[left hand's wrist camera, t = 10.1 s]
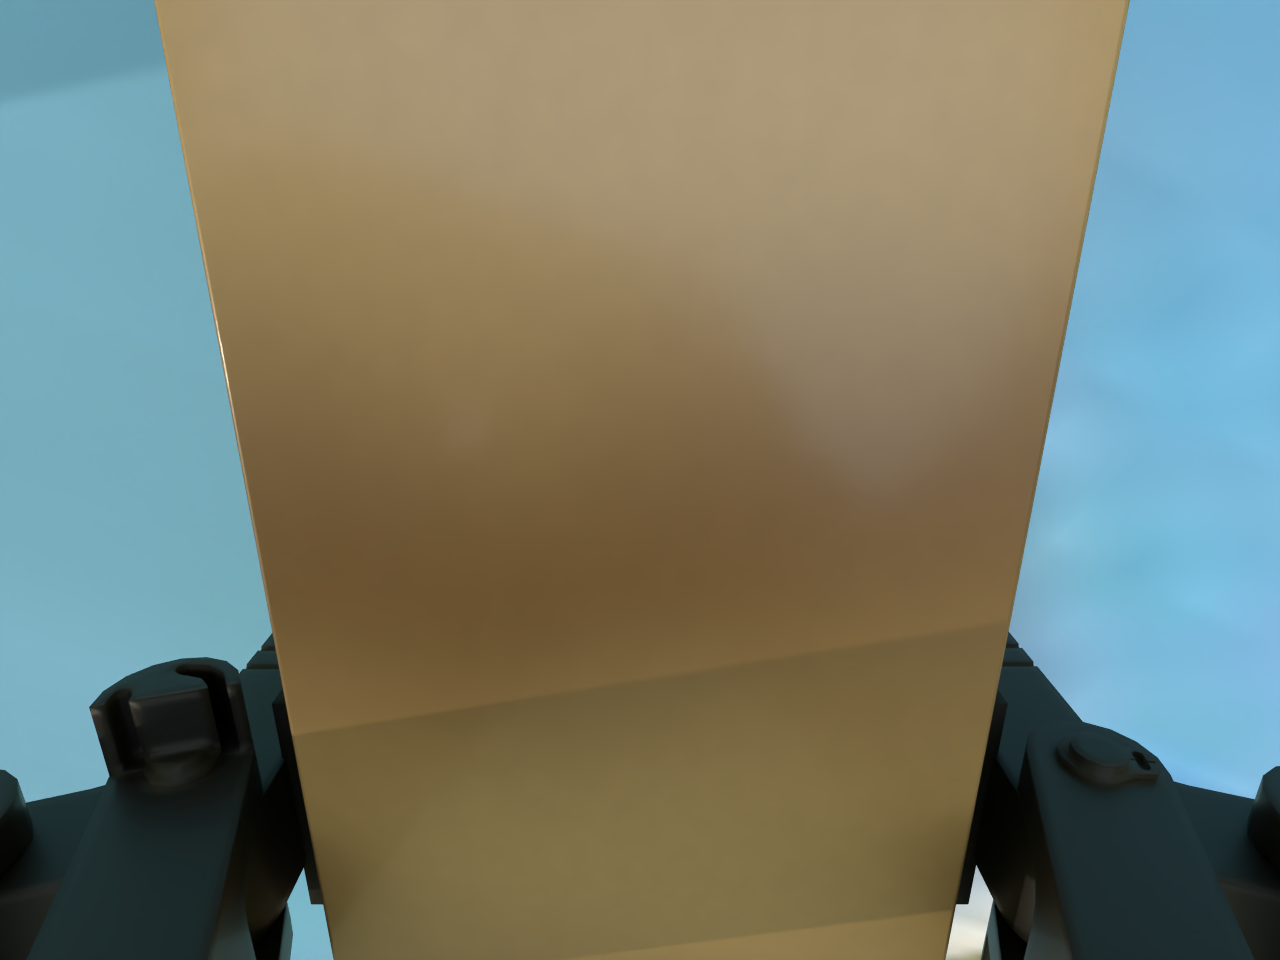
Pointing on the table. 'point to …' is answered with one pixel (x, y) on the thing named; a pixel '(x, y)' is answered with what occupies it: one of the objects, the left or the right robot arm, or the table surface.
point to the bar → (640, 443)
